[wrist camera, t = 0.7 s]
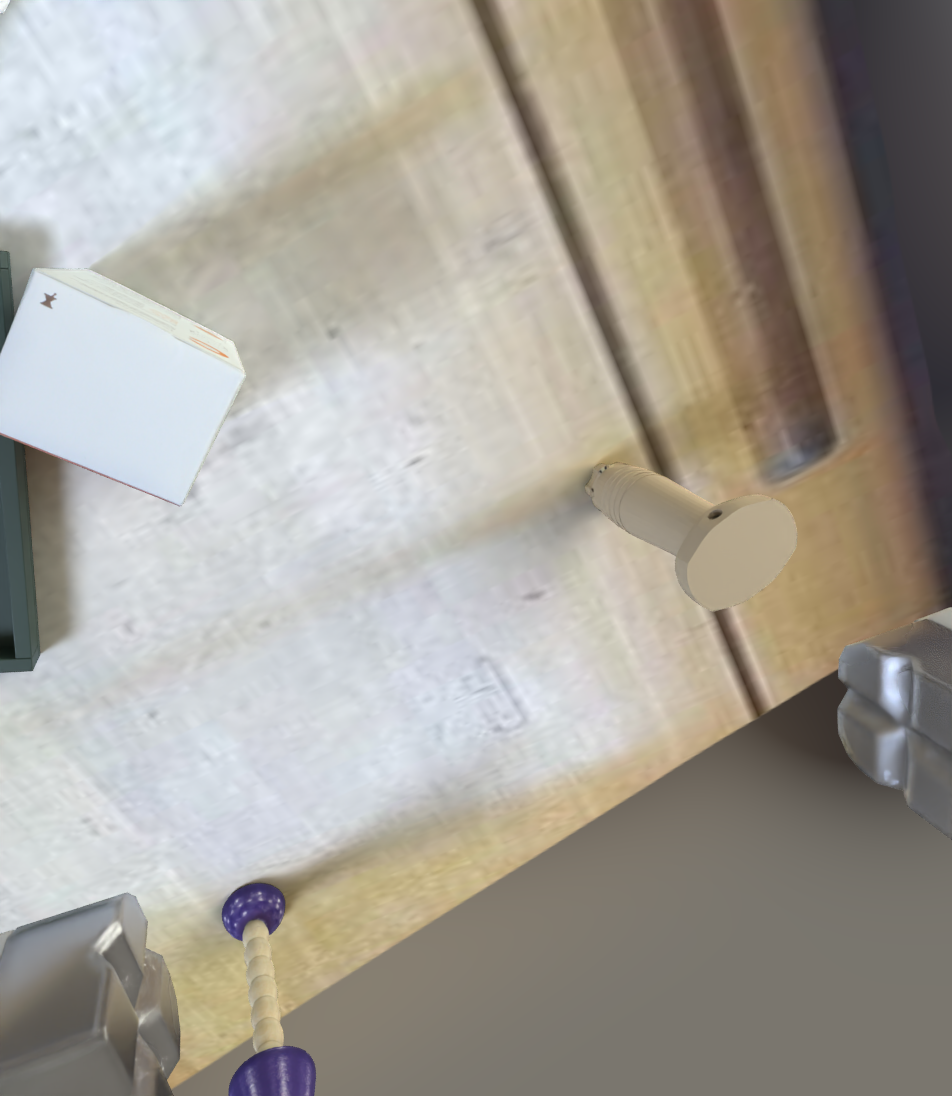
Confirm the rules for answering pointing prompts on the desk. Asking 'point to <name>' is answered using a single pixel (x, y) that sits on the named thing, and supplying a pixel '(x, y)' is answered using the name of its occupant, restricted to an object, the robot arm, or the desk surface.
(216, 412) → the small box
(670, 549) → the handle
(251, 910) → the toy lamp
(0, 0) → the white brass knuckles
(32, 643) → the tray
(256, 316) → the desk surface
